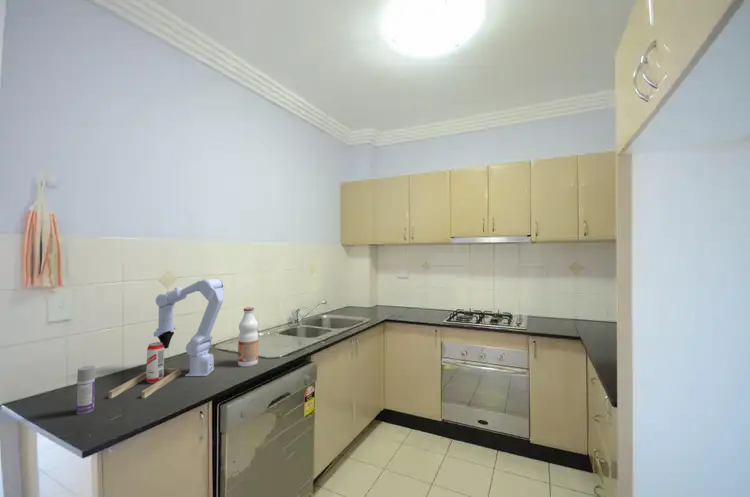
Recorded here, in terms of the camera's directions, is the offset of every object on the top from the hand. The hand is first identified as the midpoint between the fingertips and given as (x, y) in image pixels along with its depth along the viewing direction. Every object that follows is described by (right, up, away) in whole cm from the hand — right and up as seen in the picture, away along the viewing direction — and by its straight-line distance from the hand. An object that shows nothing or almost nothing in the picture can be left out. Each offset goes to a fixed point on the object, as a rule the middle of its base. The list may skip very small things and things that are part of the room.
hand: (165, 348), depth 155 cm
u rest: (+4, -10, -18) cm, 21 cm away
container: (-2, -10, -40) cm, 42 cm away
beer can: (+4, -10, -13) cm, 17 cm away
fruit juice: (+35, -11, +10) cm, 38 cm away
